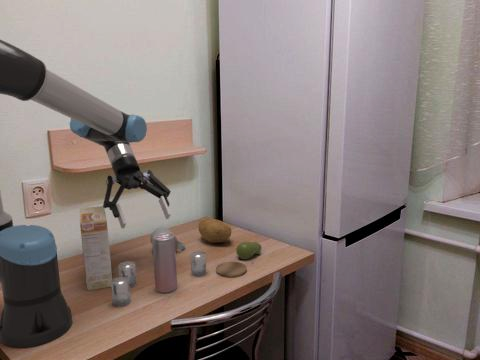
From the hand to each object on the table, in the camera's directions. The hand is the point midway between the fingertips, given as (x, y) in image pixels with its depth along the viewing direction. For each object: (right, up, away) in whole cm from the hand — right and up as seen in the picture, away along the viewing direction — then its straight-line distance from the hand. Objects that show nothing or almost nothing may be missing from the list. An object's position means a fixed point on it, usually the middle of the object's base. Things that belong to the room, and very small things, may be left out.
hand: (147, 221), depth 121 cm
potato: (+18, -10, +30) cm, 36 cm away
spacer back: (-5, -17, -2) cm, 18 cm away
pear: (+30, -13, +17) cm, 36 cm away
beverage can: (+6, -18, -5) cm, 20 cm away
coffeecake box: (-15, -17, +2) cm, 22 cm away
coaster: (+24, -15, +5) cm, 29 cm away
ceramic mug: (+2, -12, +22) cm, 26 cm away
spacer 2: (+14, -16, +4) cm, 22 cm away
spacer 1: (-4, -20, -12) cm, 23 cm away
